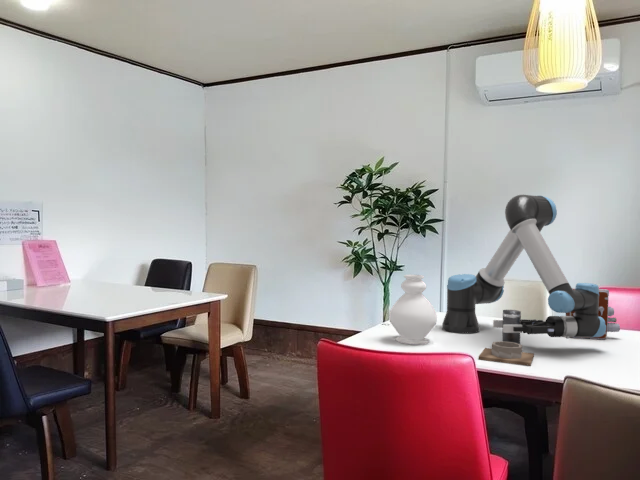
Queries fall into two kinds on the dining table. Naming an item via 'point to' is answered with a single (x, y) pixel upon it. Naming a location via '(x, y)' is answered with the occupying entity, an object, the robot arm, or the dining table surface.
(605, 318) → the cine camera
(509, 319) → the tube
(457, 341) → the dining table surface
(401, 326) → the decorative vase
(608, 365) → the dining table surface
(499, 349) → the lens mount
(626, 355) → the dining table surface
